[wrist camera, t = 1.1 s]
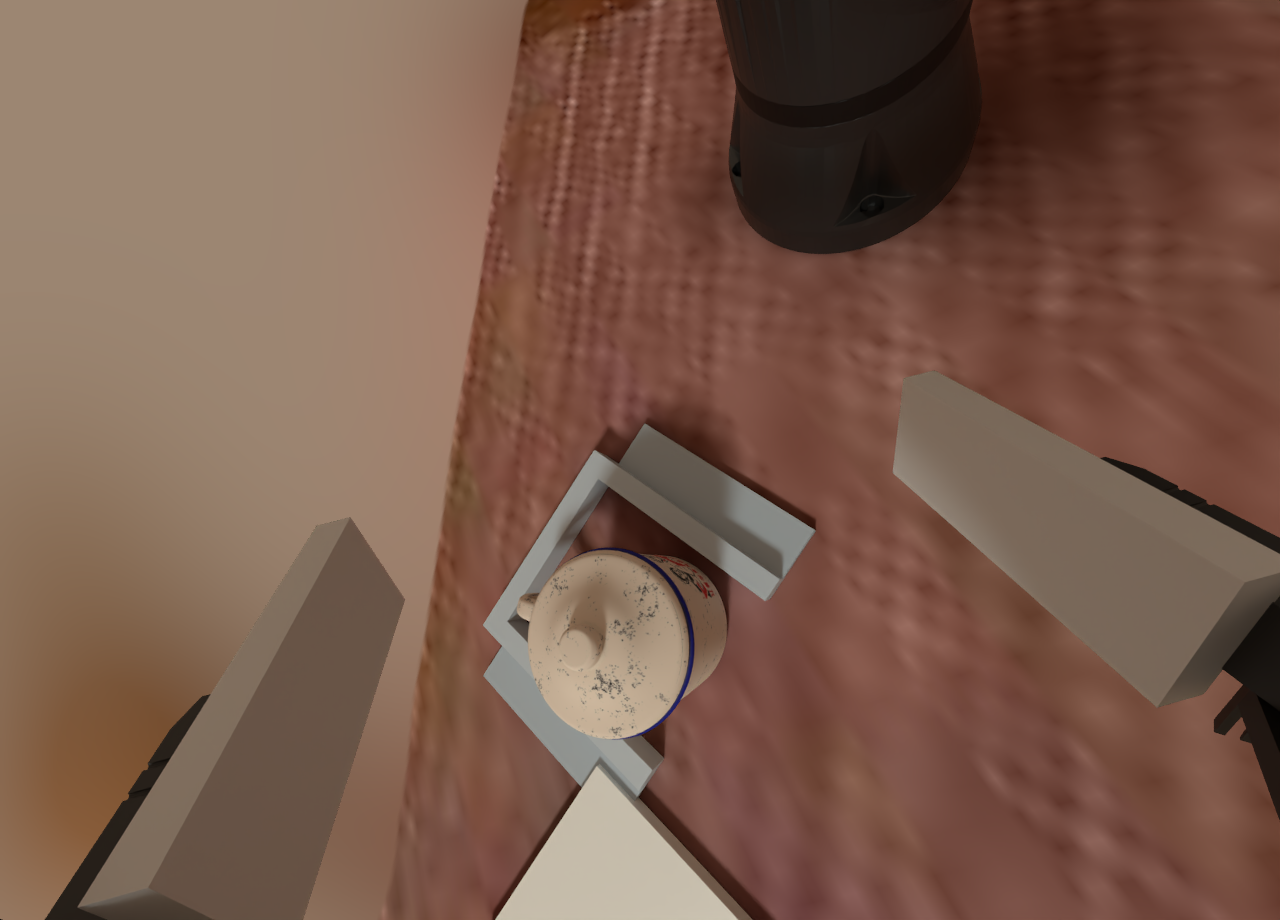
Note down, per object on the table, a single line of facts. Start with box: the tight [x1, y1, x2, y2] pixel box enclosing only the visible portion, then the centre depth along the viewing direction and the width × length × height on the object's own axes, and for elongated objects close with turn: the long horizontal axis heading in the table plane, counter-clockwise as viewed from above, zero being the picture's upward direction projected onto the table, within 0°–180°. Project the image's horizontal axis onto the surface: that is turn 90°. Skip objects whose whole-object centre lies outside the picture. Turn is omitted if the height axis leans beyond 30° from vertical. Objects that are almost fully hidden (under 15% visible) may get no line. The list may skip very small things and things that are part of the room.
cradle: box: [483, 424, 815, 801], centre depth 32 cm, size 22×15×2 cm
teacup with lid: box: [517, 548, 727, 740], centre depth 27 cm, size 12×9×12 cm
